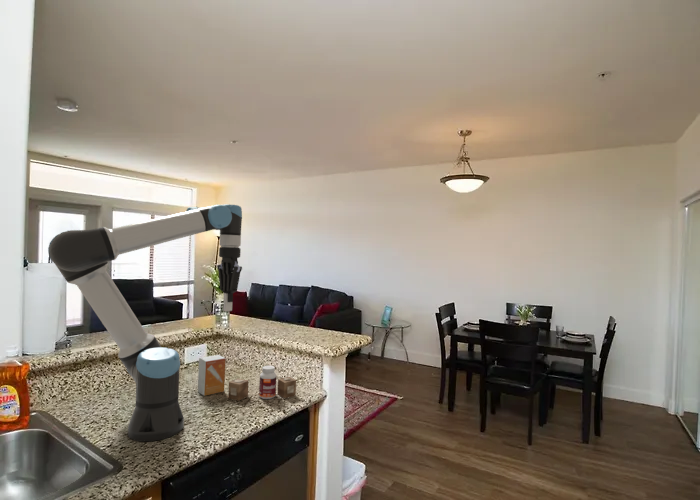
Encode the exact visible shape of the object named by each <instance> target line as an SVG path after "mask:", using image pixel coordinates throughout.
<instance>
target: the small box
mask: <svg viewBox="0 0 700 500" xmlns="http://www.w3.org/2000/svg"><path fill="white" fill-rule="evenodd" d="M225 380H226V357H224V356H222V355H221V354H216V355H209V356H203V357H199V358H198V374H197V392H198V393H199V394H200V395H202V396H204V397H205V396H209V395H213V394H219V393H224V392H225V384H226V383H225Z"/></svg>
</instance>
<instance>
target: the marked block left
mask: <svg viewBox="0 0 700 500" xmlns="http://www.w3.org/2000/svg"><path fill="white" fill-rule="evenodd" d="M227 397H228V399H231V400H234V401H237V402H238V401H239V402H240V401H241V400H244V399H245V398H248V397H249V380H247V379H244V378H240V377H239V378H238V377H237V378H235V379H233V380H230V381H229V382H228V396H227Z"/></svg>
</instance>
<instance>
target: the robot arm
mask: <svg viewBox="0 0 700 500" xmlns="http://www.w3.org/2000/svg"><path fill="white" fill-rule="evenodd" d="M242 219H243V211H242V207H241V206H240V205H238V204H230V203H227V204H226V203H225V204H218V203H217V204H214V205H211V206H210V205H209V206H205V207H200V206H199V207H198V206H188V207H187V208H186V211H185V212H184V211H183V212H179V213H175V214H171V215H166V216H161V217H158V218H154V219H153V218H152V219H148V220H145V221H140V222H136V223H130V224H126V225H123V226H118V227H113V228H108V227H106V226H101V227H97V228H91V229H81V230H80V229H73V230H72V229H71V230H66V231H63V232H60V233H59V234H56V235H55V236H54V237H53V238H52V239H51V241H50V242H49V243H48V247H47V251H48V256H49V258H50V260H51V261H52V263H53V264H54V265H55V267H56V268H57V270H58V271H59V272H60V273H61V275H62V277H63V278H64V280H65V281H66V282H67V283H68V284H72V285H75V286H77V287H78V289H79V291H80V293H81V294H82V295H83V296H84V298H85V300H86V301H87V302H88V304H89V306H90V307H91V309H92V310H93V311H94V313H95V315H96V316H97V317H98V319H99V320H100V322H101V324H102V325H103V326H104V328H105V329H106V330H107V332H108V333H109V336H111V338H112V340H113V341H114V343H115V345H117V347H118V348H119V350H118V351H119V352H118V353H117V357H118V358H119V360H120V362H121V363H122V364H123V366H124V367H125V369H126V371H127V373H128V374H129V376H131V378H132V379H133V381H134V382H135V405H134V406H135V407H134V409H133V412H132V415H131V417H130V420H129V423H128V425H127V426H128V427H127V436H128V438H129V439H131V440H133V441H137V442H155V441H160V440H164V439H168V438H170V437H173V436H174V435H175V436H176V435H177V434H179V433H180V432H181V431H182V430H183V429H184V426H185V425H184V424H185V419H184V413H183V412H182V407H181V406H180V403H179V396H180V395H179V392H180V367H181V358H180V354H179V352H178V351H177V350H175V349H173V348H169V347H162V346H161V344H160V342H159V341H158V339H157V338H156V336H155V334H151V333H148V332H146V330H145V328H144V327H143V326H142V324H141V322H140V320H138V319H139V318H137V315H136V314H135V313H134V311H133V310H132V309H131V307H130V305H129V303H128V302H127V300H126V299H125V297H124V296H123V294H122V293H121V291H120V290H119V288H118V286H117V285H116V284H115V282H114V280H113V279H112V277H111V275H110V274H109V273H108V271H107V269H108V266H109V262H111V261H115V260H116V259H117V258H118V257H119V256H120V255H123V254H127V253H129V252H135V251H138V250H142V249H145V248H150V247H153V246H156V245H160V244H164V243H169V242H172V241H175V240H179V239H182V238H186V237H190V236H193V235H197V234H201V233H205V232H206V233H207V232H210V231H214V230H215V231H219V250H218V256H219V258H221V261H220V262H221V263H220V264H217V265H216V268H217V270H218V281H219V289H220V291H222V293H223V310H222V311H224V312H232V311H233V301H234V293H236V292H238V287H239V282H240V277H241V272H242V270H243V267H242V266H240V265H239V261H238V259H239V258H241V253H242V252H241V248H240V247H241V244H242V223H243V222H242V221H243V220H242Z"/></svg>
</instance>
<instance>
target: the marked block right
mask: <svg viewBox="0 0 700 500" xmlns="http://www.w3.org/2000/svg"><path fill="white" fill-rule="evenodd" d="M277 395H278V396H279V397H280V398H282V399H284V398H285V399H289V398H293V397H296V396H297V379H296V378H295V379H294V378H293V377H291V376H286V377H281V378H278V379H277ZM288 397H289V398H288Z"/></svg>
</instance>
